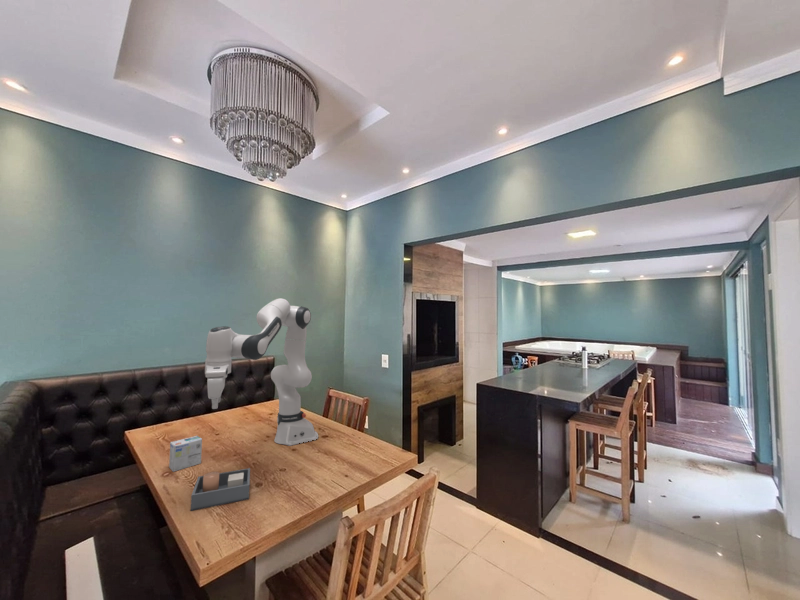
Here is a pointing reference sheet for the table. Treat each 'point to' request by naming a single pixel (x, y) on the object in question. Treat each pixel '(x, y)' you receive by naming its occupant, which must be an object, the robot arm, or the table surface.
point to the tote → (220, 491)
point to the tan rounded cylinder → (210, 481)
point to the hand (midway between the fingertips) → (216, 405)
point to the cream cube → (235, 479)
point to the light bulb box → (185, 453)
